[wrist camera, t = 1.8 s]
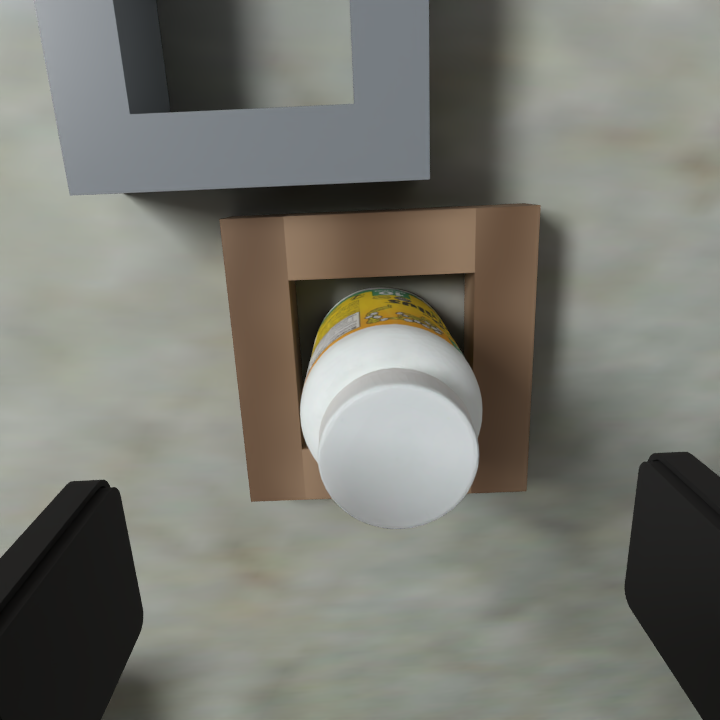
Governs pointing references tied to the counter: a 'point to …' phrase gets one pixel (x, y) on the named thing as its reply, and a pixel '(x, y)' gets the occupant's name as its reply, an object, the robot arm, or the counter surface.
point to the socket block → (230, 127)
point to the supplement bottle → (391, 410)
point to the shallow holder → (376, 259)
